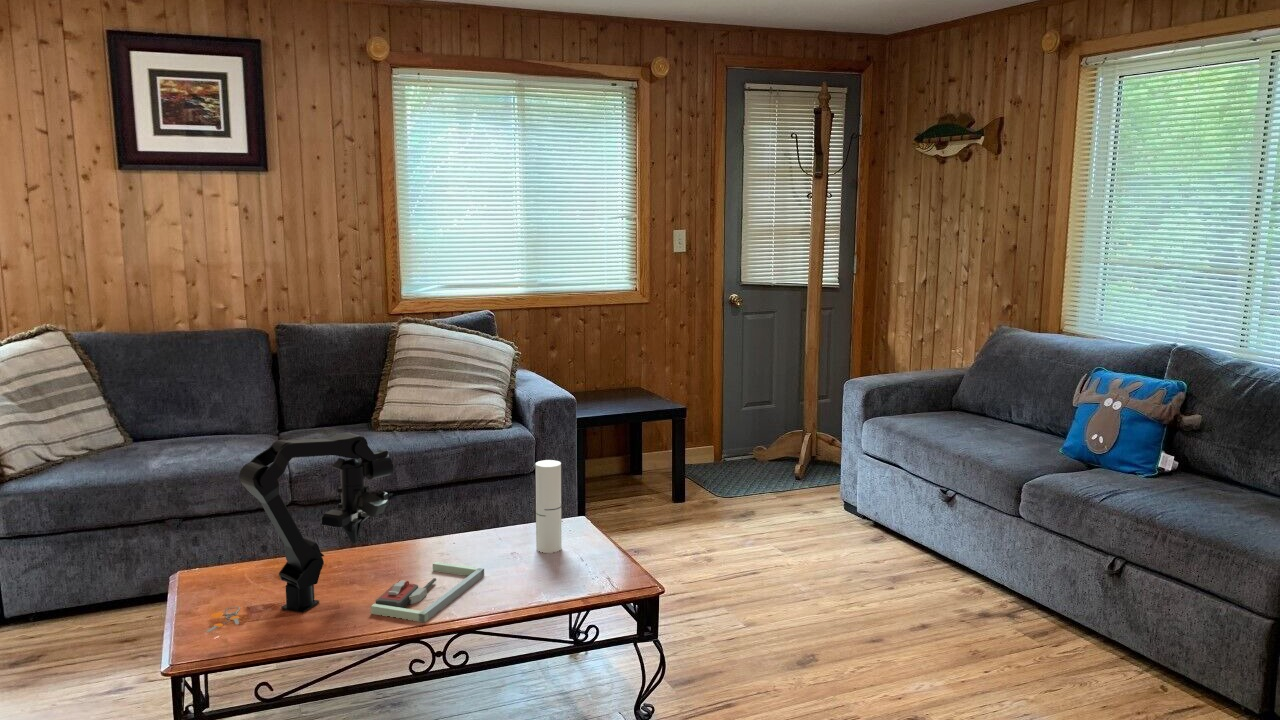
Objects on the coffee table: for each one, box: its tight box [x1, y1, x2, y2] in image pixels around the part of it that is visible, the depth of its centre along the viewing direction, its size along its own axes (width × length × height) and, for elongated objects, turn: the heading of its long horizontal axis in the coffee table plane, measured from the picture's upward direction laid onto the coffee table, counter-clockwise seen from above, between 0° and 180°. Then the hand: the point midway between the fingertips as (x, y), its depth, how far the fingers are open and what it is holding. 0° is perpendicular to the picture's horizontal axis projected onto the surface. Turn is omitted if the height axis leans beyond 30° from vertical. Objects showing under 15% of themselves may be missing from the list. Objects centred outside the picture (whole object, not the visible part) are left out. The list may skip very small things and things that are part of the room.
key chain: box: [205, 606, 241, 633], centre depth 225 cm, size 13×7×1 cm, turn 16°
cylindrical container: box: [535, 459, 562, 554], centre depth 270 cm, size 7×7×25 cm
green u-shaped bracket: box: [370, 561, 485, 624], centre depth 240 cm, size 30×14×2 cm, turn 162°
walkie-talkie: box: [375, 577, 437, 608], centre depth 238 cm, size 9×4×20 cm
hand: (354, 542), depth 242 cm, fingers closed
